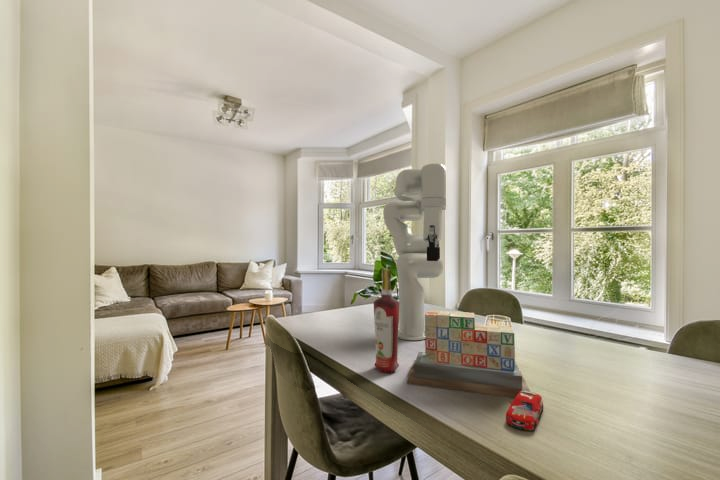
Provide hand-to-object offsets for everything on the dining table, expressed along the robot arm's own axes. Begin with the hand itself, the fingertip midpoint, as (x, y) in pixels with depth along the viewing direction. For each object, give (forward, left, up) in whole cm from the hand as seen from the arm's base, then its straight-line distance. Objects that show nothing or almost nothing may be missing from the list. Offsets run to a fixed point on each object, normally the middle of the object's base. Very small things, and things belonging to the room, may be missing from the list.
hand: (433, 260), depth 100 cm
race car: (+28, +21, -31) cm, 47 cm away
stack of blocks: (+14, +10, -26) cm, 31 cm away
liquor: (+13, -12, -31) cm, 35 cm away
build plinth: (+14, +9, -30) cm, 35 cm away
